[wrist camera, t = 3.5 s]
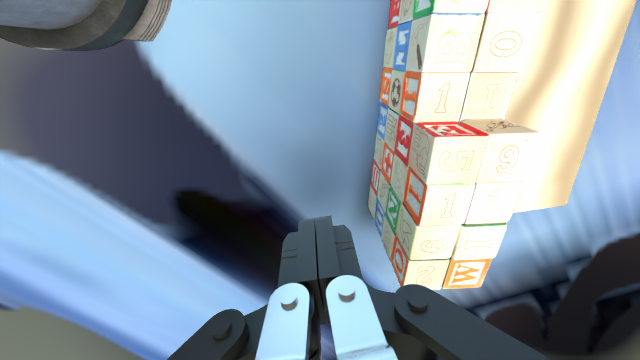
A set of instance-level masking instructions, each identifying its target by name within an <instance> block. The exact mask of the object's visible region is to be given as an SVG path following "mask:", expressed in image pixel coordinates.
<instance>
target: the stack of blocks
mask: <svg viewBox="0 0 640 360" xmlns="http://www.w3.org/2000/svg"><path fill="white" fill-rule="evenodd" d="M542 1H543V0H391V4H390V15H389V24H388V28H389V29H388V30H387V34H386V43H385V53H384V63H383V71H382V80H381V89H380V98H379V100H380V105H379V115H378V124H377V135H376V144H375V154H374V159H373V165H372V175H371V184H370V190H369V199H368V207H369V210H370V212H371V215H372V217H373V220H374V221H375V223H376V226H377V228H378V231H379V233H380V236H381V238H382V242H383V245H384V247H385V250H386V253H387V255H388V257H389V260H390V262H392V265H393V268H394V271H395V273H396V276H397V278H398V281H399V283H400V286H401V287H402V286H404V285H408V284H418V285H422V286H425V287H427V288H429V289H431V290H439V289H441V287H442V288H444V289H455V288H473V287H480V286H481V285H482V283H483V280H484V278H485V275H486V273H487V270H488V268H489V265H490V263H491V261H492V258H494V257H495V256H496V254H497V251H498V249H499V247H500V244H501V241H502V239H503V236H504V234H505V231H506V228H507V224H506V222H507V221H509V220H510V218H511V215H512V213H513V210H514V207H515V204H516V202H517V199H518V196H519V194H520V191H521V189H522V186H523V183H522V180H524V179H525V176H526V174H527V171H528V168H529V166H530V163H531V161H532V158H533V155H534V153H535V150H536V147H537V145H538V142H539V140H540V137H541V132H539V131H535V130H533V129H530V128H527V127H524V126H521V125H518V124H516V123H513V122H510V121H507V120H505V116H506V113H507V109H508V106H509V103H510V100H511V97H512V94H513V91H514V87H515V84H516V81H517V78H518V74H519V72H520V71H521V69H522V67H523V63H524V60H525V57H526V54H527V51H528V48H529V45H530V42H531V39H532V36H533V33H534V30H535V27H536V24H537V21H538V17H539V12H538V11H539V9H540V7H541V4H542Z"/></svg>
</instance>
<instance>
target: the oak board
mask: <svg viewBox="0 0 640 360" xmlns="http://www.w3.org/2000/svg"><path fill="white" fill-rule="evenodd" d="M636 1H637V0H543V1H542V4H541V7H540V9H539V11H538V12H539V17H538V21H537V24H536V27H535V30H534V33H533V36H532V39H531V42H530V45H529V48H528V51H527V54H526V57H525V60H524V63H523V67H522V69H521V71H520V72H519V74H518V78H517V81H516V84H515V87H514V91H513V94H512V97H511V100H510V103H509V106H508V109H507V113H506V116H505V120H507V121H510V122H513V123H516V124H518V125H521V126H524V127H527V128H530V129H533V130H535V131H539V132H541V137H540V140H539V142H538V145H537V147H536V150H535V153H534V155H533V158H532V161H531V163H530V166H529V168H528V171H527V174H526V176H525V179H524V180H522V183H523V186H522V189H521V191H520V194H519V196H518V199H517V202H516V204H515V207H514V210H513V213H515V212H522V211H529V210H536V209H543V208H550V207H556V206H563V205H566V204H567V202H568V199H569V196H570V193H571V190H572V187H573V184H574V181H575V178H576V175H577V172H578V169H579V167H580V164H581V161H582V158H583V155H584V152H585V149H586V146H587V143H588V140H589V137H590V135H591V132H592V129H593V126H594V123H595V120H596V117H597V114H598V111H599V108H600V105H601V102H602V100H603V97H604V94H605V91H606V88H607V85H608V82H609V79H610V76H611V73H612V70H613V68H614V65H615V62H616V59H617V56H618V53H619V50H620V47H621V44H622V41H623V38H624V36H625V33H626V30H627V27H628V24H629V21H630V18H631V15H632V12H633V9H634V6H635V3H636Z"/></svg>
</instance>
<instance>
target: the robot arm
mask: <svg viewBox="0 0 640 360" xmlns="http://www.w3.org/2000/svg"><path fill="white" fill-rule="evenodd" d="M325 310H326V313H325ZM326 315H327V320H328V323H331V327H332V332H333V338H334V344H335V349H336V355H337V360H551V359H549V358H547V357H545V356H544V355H542V354H540V353H539V352H537V351H535V350H533V349H532V348H530V347H528V346H527V345H525V344H523V343H521V342H520V341H518V340H516V339H514V338H513V337H511V336H509V335H508V334H506V333H504V332H503V331H501V330H499V329H497V328H496V327H494V326H492V325H491V324H489V323H487V322H485V321H484V320H482V319H480V318H479V317H477V316H475V315H474V314H472V313H470V312H468V311H467V310H465V309H463V308H462V307H460V306H458V305H456V304H455V303H453V302H451V301H450V300H448V299H446V298H444V297H443V296H441V295H439V294H438V293H436V292H434V291H432V290H431V289H429V288H427V287H425V286H422V285H418V284H408V285H404V286H402V287H400V288H399V289H398V290H397V291H396V293H391V292H384V291H379V290H376V289H374V288H372V287H371V286H369V285H368V284H367V283H366V282H365V281H364V279H363V277H362V275H361V271H360V267H359V263H358V259H357V255H356V251H355V248H354V243H353V240H352V236H351V232H350V230H349V229H348V228H347V227H346V226H345V225H340V226H332V220H331V216H325V217H319V218H316V223H315V219H314V218H312V219H306V220H299V223H298V232H293V233H289V234H288V235H287V237H286V238H285V240H284V241H283V248H282V256H281V264H280V272H279V280H278V288H277V290H275V291H274V293H273V294H272V295H271V297H270V299H269V303H268V304H267V305H265V306H264V307H262V308H260V309H258V310H256V311H254V312H252V313H250V314H247V315H245V316H244V315H243V314H242V313H241V312H240V311H238V310H235V309H228V310H224V311H221V312H219V313H217V314H216V315H214V316H213V317H212V318H211V319H210V320H208V321H207V322H206V323H205V324H204V325H203V326H202V327H201V328H200V329H199V330H198V331H197V332H196V333H195V334H194V335H193V336H191V337H190V338H189V339H188V340H187V341H186V342H185V343H184V344H183V345H182V346H181V347H180V348H179V349H178V350H177V351H175V352H174V353H173V354H172V355H171V356H170V357H169V358H168V359H167V360H321V343H320V341H321V333H320V324H326Z"/></svg>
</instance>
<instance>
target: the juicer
mask: <svg viewBox="0 0 640 360" xmlns="http://www.w3.org/2000/svg"><path fill="white" fill-rule="evenodd" d="M171 2H172V0H0V38H2V39H5V40H7V41H9V42H13V43H16V44H20V45H23V46H27V47H31V48H38V49H46V50H71V51H89V50H100V49H103V48H107V47H110V46H114V45H115V44H117V43H119V42H121V41H123V40H125V39H131V40H143V41H153V40H154V39H155V37H156V36H157V34H158V33H159V31H160V30H161V28H162V27H163V24H164V22H165V20H166V17H167V15H168V12H169V10H170V6H171Z"/></svg>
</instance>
